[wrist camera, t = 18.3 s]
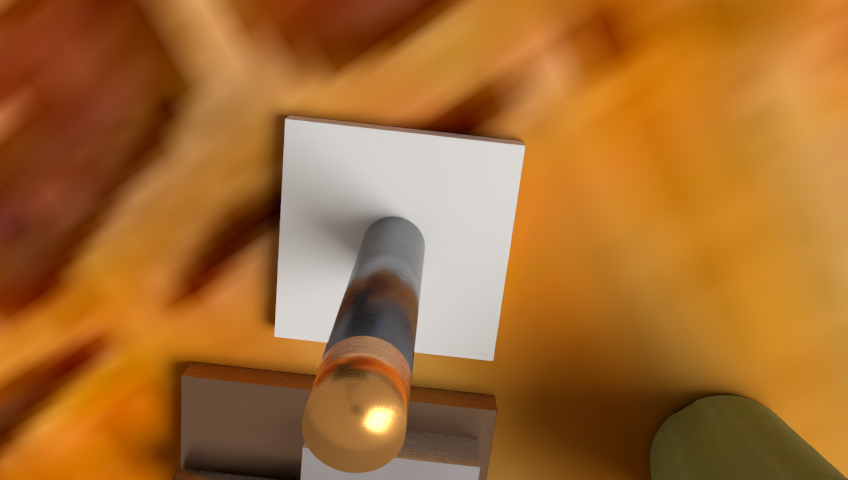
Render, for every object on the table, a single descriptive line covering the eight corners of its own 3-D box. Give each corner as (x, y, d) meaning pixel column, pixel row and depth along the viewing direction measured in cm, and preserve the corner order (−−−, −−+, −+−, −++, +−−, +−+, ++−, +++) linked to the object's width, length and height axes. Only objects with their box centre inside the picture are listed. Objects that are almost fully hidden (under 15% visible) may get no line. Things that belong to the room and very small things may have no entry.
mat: (289, 114, 37) (285, 118, 36) (523, 141, 37) (525, 145, 36) (278, 328, 41) (274, 336, 40) (492, 352, 41) (492, 360, 40)
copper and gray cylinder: (356, 267, 38) (292, 460, 23) (370, 209, 37) (313, 370, 22) (416, 282, 39) (392, 483, 23) (432, 225, 38) (416, 396, 22)
